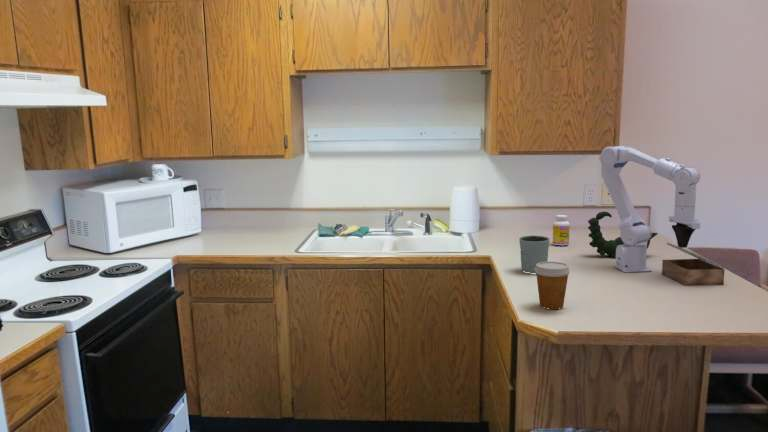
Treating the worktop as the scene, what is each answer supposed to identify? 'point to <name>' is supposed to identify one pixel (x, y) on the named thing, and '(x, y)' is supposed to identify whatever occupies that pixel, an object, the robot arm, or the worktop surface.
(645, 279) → the worktop surface
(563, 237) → the supplement bottle
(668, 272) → the box
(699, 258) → the lid
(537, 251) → the grey cup
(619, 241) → the toy figurine
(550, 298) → the disposable coffee cup
